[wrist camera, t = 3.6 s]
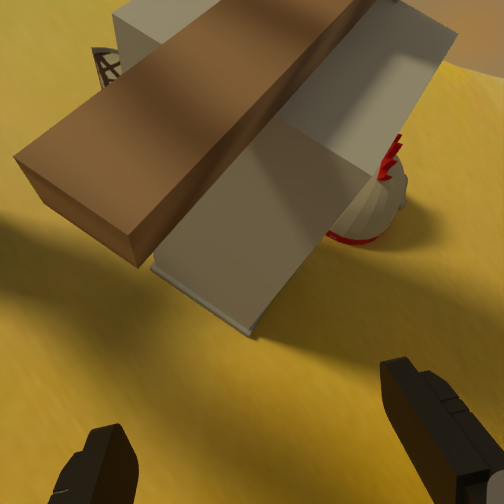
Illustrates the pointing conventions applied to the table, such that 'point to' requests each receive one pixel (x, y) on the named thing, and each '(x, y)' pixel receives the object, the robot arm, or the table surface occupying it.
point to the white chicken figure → (374, 202)
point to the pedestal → (289, 154)
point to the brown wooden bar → (180, 118)
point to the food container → (107, 64)
